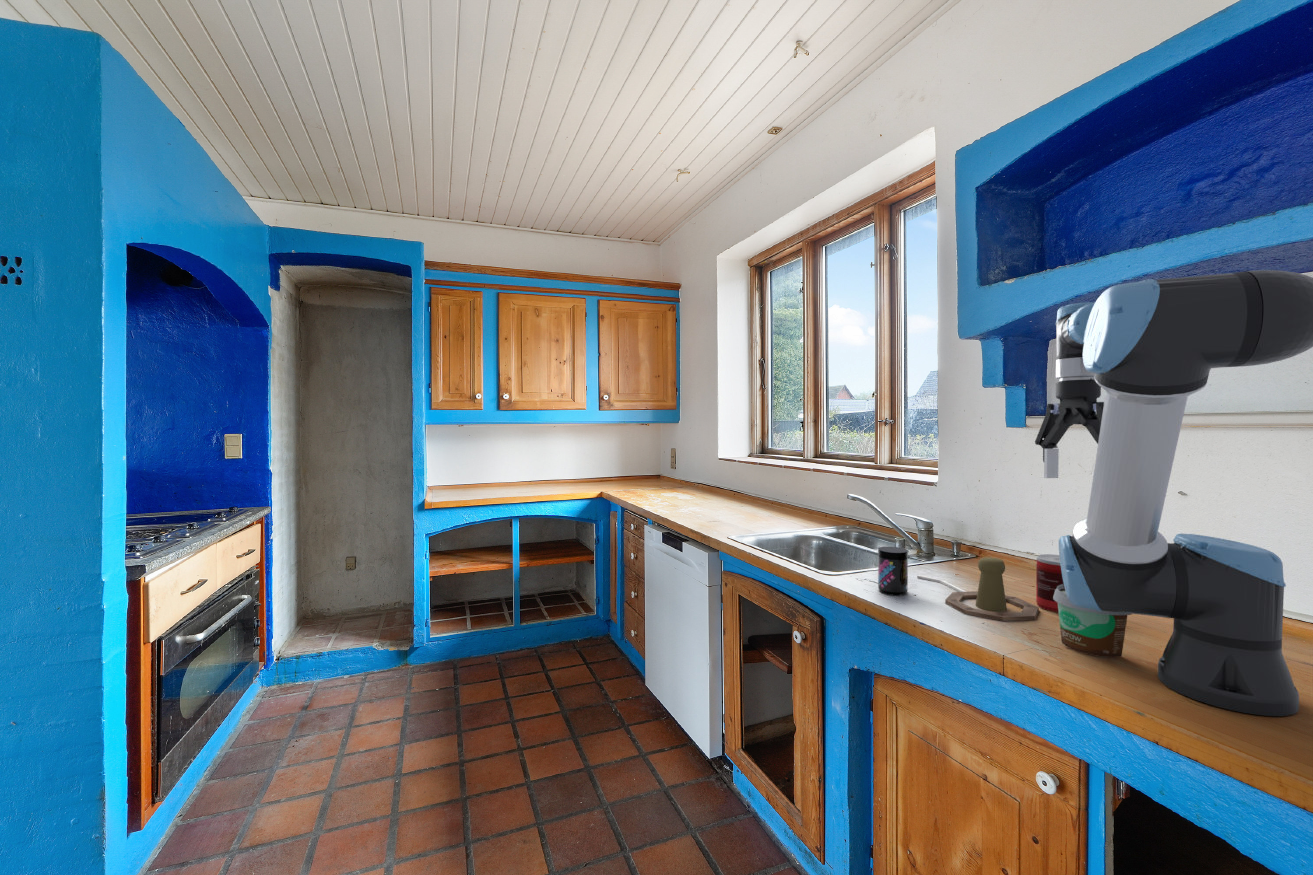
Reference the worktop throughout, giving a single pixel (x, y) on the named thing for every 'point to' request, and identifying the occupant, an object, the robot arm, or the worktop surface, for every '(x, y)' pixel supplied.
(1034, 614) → the ring
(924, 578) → the lace cord
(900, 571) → the supplement container
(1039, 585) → the canned food
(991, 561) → the olive green pawn
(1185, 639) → the robot arm
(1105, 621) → the food container
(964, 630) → the worktop surface
